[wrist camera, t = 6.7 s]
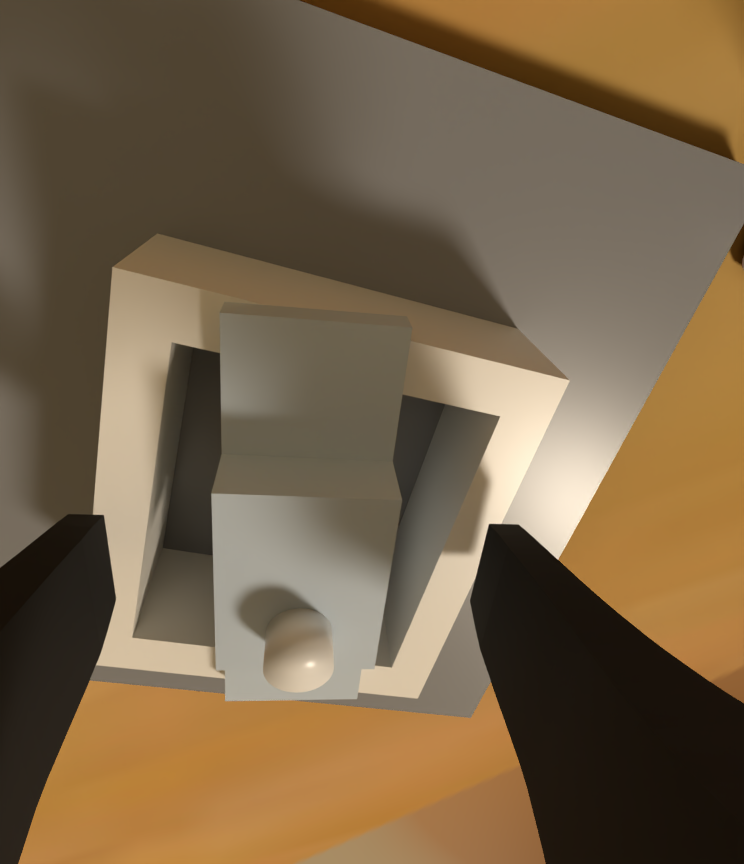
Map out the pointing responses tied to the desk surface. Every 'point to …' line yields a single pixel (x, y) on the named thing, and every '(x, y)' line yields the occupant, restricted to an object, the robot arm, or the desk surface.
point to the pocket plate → (321, 295)
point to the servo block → (304, 497)
